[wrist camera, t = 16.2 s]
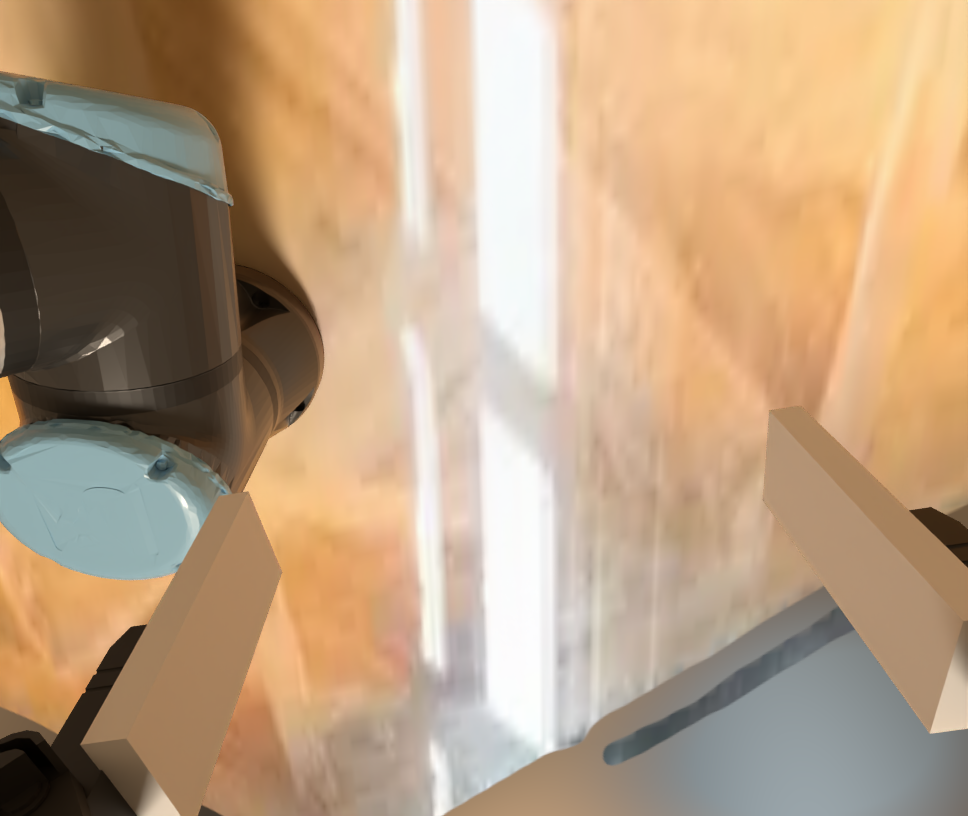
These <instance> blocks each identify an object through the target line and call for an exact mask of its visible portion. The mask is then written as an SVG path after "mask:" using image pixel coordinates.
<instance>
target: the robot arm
mask: <svg viewBox="0 0 968 816" xmlns="http://www.w3.org/2000/svg"><path fill="white" fill-rule="evenodd" d="M229 206H233V197H232V196H231V195H230V194H229V193H228V188H227V181H226V173H225V166H224V159H223V151H222V145H221V140H220V138H219V135H218V133H217V131H216V129H215V127H214V126H213V125H212V123H211V122H210V121H209V120H208V119H207V118H206V117H205V116H204V115H202V114H201V113H199V112H198V111H196V110H194V109H192V108H189V107H186V106H183V105H178V104H173V103H168V102H163V101H158V100H153V99H148V98H143V97H137V96H132V95H127V94H122V93H116V92H111V91H106V90H100V89H95V88H89V87H84V86H78V85H72V84H67V83H62V82H57V81H52V80H46V79H41V78H36V77H30V76H25V75H19V74H14V73H8V72H3V71H0V378H2V377H6V376H8V379H9V382H10V386H11V389H12V393H13V396H14V400H15V404H16V407H17V411H18V414H19V418H20V427H18V428H17V429H15V430H14V431H13V432H11V433H9V434H7V435H6V436H5V437H4V438H3V439H2V440H1V441H0V522H1V523H2V524H3V525H4V527H5V528H6V529H7V530H8V531H9V532H10V533H11V534H12V535H13V536H14V537H15V538H17V539H18V540H19V541H20V542H21V543H22V544H24V545H25V546H27V547H28V548H30V549H31V550H33V551H34V552H36V553H37V554H39V555H41V556H44V557H47V558H49V559H52V560H53V561H55V562H57V563H58V564H60V565H61V566H64V567H66V568H68V569H71V570H74V571H77V572H81V573H84V574H88V575H92V576H96V577H101V578H108V579H117V580H145V579H152V578H158V577H163V576H167V575H170V574H173V573H176V574H175V576H174V578H173V579H172V581H171V583H170V585H169V587H168V588H167V590H166V592H165V594H164V596H163V597H162V599H161V601H160V603H159V604H158V606H157V608H156V610H155V612H154V613H153V615H152V617H151V619H150V621H149V622H148V624H147V625H140V626H133V627H130V628H129V629H128V630H127V631H126V632H125V633H124V634H123V635H122V636H121V637H120V638H119V639H118V640H117V641H116V642H115V643H114V644H113V645H112V646H111V647H110V649H109V650H108V652H107V654H106V655H105V657H104V659H103V660H102V662H101V664H100V665H99V667H98V669H97V670H96V671H97V674H96V675H93V677H92V679H91V680H90V682H89V684H88V685H87V687H86V692H85V693H84V694H82V695H81V697H80V699H79V700H78V702H77V704H76V705H75V707H74V709H73V710H72V712H71V714H70V715H69V717H68V719H67V720H66V722H65V724H64V725H63V727H62V729H61V730H60V732H59V734H58V735H57V737H56V739H55V741H54V742H53V744H52V746H51V747H50V745H49V744H48V743H47V742H46V741H45V739H44V738H43V737H42V736H41V734H40V733H39V732H34V731H28V730H26V731H22V732H18V733H14V734H10V735H8V736H6V737H4V738H2V739H0V816H198V813H199V810H200V807H201V804H202V802H203V799H204V796H205V793H206V790H207V787H208V784H209V781H210V778H211V776H212V773H213V770H214V767H215V764H216V761H217V758H218V755H219V753H220V750H221V747H222V744H223V741H224V738H225V735H226V732H227V729H228V727H229V724H230V721H231V718H232V715H233V712H234V709H235V706H236V704H237V701H238V698H239V695H240V692H241V689H242V686H243V683H244V680H245V678H246V675H247V672H248V669H249V666H250V663H251V660H252V657H253V655H254V652H255V649H256V646H257V643H258V640H259V637H260V634H261V631H262V629H263V626H264V623H265V620H266V617H267V614H268V611H269V608H270V606H271V603H272V600H273V597H274V594H275V591H276V588H277V585H278V582H279V580H280V577H281V574H282V570H281V568H280V566H279V563H278V561H277V559H276V556H275V554H274V551H273V549H272V547H271V544H270V542H269V540H268V537H267V535H266V532H265V530H264V528H263V525H262V523H261V520H260V518H259V516H258V513H257V511H256V509H255V506H254V504H253V501H252V499H251V497H250V494H249V492H243V490H244V488H245V486H246V484H247V482H248V480H249V478H250V476H251V474H252V472H253V470H254V468H255V466H256V464H257V462H258V460H259V458H260V456H261V454H262V452H263V449H264V447H265V445H266V443H267V441H268V439H269V438H271V437H272V436H274V435H276V434H277V433H279V432H281V431H282V430H284V429H285V428H287V427H289V426H290V425H291V424H293V423H294V422H295V421H296V420H297V419H298V418H299V417H300V416H301V415H302V414H303V413H304V412H305V411H306V409H307V408H308V407H309V405H310V404H311V402H312V400H313V398H314V396H315V393H316V391H317V389H318V387H319V384H320V381H321V378H322V374H323V368H324V351H323V345H322V341H321V337H320V334H319V331H318V329H317V326H316V324H315V322H314V320H313V319H312V317H311V315H310V314H309V312H308V311H307V309H306V308H305V307H304V305H303V304H302V303H301V302H300V301H299V300H298V299H297V297H296V296H295V295H293V294H292V293H291V292H290V291H289V290H288V289H287V288H285V287H284V286H283V285H281V284H280V283H278V282H277V281H275V280H274V279H272V278H270V277H268V276H267V275H265V274H262V273H260V272H258V271H255V270H253V269H250V268H247V267H243V266H239V265H235V264H234V254H233V243H232V232H231V221H230V211H229ZM763 501H764V502H765V504H766V505H767V507H768V508H769V509H770V511H771V512H772V514H773V515H774V516H775V518H776V519H777V521H778V522H779V523H780V525H781V526H782V528H783V529H784V530H785V532H786V533H787V535H788V536H789V537H790V539H791V540H792V542H793V543H794V544H795V546H796V547H797V549H798V550H799V551H800V553H801V554H802V556H803V557H804V558H805V560H806V561H807V563H808V564H809V565H810V567H811V568H812V570H813V571H814V572H815V574H816V575H817V577H818V578H819V579H820V581H821V582H822V584H823V585H824V586H825V588H826V589H827V590H828V592H829V593H830V595H831V596H832V598H833V599H834V600H835V601H836V603H837V605H838V606H839V607H840V609H841V610H842V612H843V613H844V614H845V616H846V617H847V619H848V620H849V621H850V623H851V624H852V625H853V627H854V628H855V630H856V631H857V632H858V634H859V635H860V636H861V638H862V639H863V641H864V642H865V644H866V645H867V646H868V648H869V649H870V651H871V652H872V653H873V655H874V656H875V658H876V659H877V660H878V662H879V663H880V664H881V666H882V667H883V669H884V670H885V672H886V673H887V674H888V676H889V677H890V679H891V680H892V681H893V683H894V684H895V686H896V687H897V688H898V690H899V691H900V693H901V694H902V695H903V697H904V698H905V699H906V701H907V702H908V704H909V705H910V707H911V708H912V709H913V711H914V712H915V714H916V715H917V716H918V718H919V719H920V721H921V722H922V723H923V725H924V726H925V727H926V729H927V730H928V732H929V733H937V732H945V731H952V730H960V729H967V728H968V529H967V528H966V527H965V526H963V525H962V524H961V523H960V522H959V521H957V520H954V519H953V518H951V517H949V516H947V515H945V514H943V513H941V512H939V511H937V510H935V509H933V508H932V507H929V508H922V509H915V510H908V509H907V508H906V507H905V506H904V505H903V504H902V503H900V502H899V501H898V500H897V499H896V498H895V497H894V496H893V495H892V494H891V493H890V492H889V491H888V490H887V489H886V488H885V487H884V486H883V485H882V484H881V483H880V482H879V481H878V480H877V479H876V478H875V477H874V476H873V475H872V474H871V473H870V472H869V471H868V470H866V469H865V468H864V467H863V466H862V465H861V464H860V463H859V462H858V461H857V460H856V459H855V458H854V457H853V456H852V455H851V454H850V453H849V452H848V451H847V450H846V449H845V448H844V447H843V446H842V445H841V444H840V443H839V442H838V441H837V440H836V439H835V438H834V437H832V436H831V435H830V434H829V433H828V432H827V431H826V430H825V429H824V428H823V427H822V426H821V425H820V424H819V423H818V422H817V421H816V420H815V419H814V418H813V417H812V416H811V415H810V414H809V413H808V412H807V411H806V410H805V409H804V408H803V407H802V406H795V407H788V408H782V409H775V410H769V419H768V433H767V447H766V461H765V475H764V489H763Z"/></svg>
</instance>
